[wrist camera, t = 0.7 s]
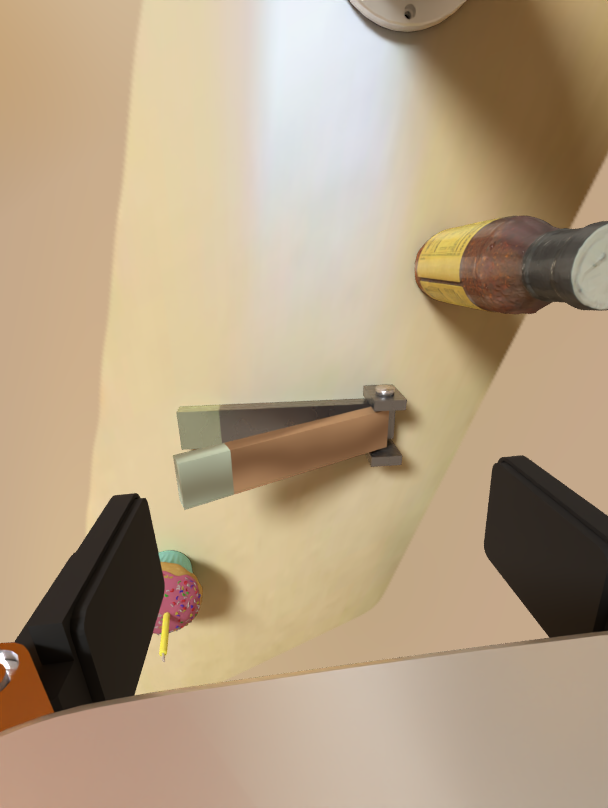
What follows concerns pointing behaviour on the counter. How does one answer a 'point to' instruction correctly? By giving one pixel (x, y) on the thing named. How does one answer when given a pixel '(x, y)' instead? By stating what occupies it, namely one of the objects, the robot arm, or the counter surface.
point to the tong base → (285, 419)
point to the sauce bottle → (516, 265)
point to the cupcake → (177, 596)
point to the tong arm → (277, 455)
